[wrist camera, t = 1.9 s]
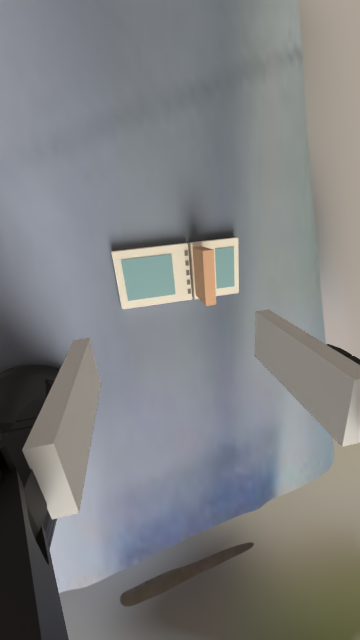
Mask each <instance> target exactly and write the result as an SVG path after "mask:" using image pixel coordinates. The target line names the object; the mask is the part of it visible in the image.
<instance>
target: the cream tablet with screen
mask: <svg viewBox="0 0 360 640" xmlns="http://www.w3.org/2000/svg"><path fill="white" fill-rule="evenodd" d="M112 258H113V263H114V268H115V274H116V279H117V285H118V290H119V295H120V301H121V306H122V309H129V308H136V307H143V306H149V305H156V304H163V303H170V302H177V301H184V300H190V299H192V290H191V277H190V265H189V252H188V243H179V244H170V245H161V246H152V247H143V248H135V249H126V250H117V251H112Z"/></svg>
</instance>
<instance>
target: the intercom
mask: <svg viewBox="0 0 360 640" xmlns="http://www.w3.org/2000/svg"><path fill="white" fill-rule="evenodd" d="M188 244H189V257H190V270H191V283H192V296H193V298H194V299H200V300H201V301H202V302H203V303H204V304H205V305H206V306H208V305H215V304H216V296H220V295H227V294H234V293H239V280H238V238H236V237H232V238H224V239H215V240H206V241H197V242H188Z"/></svg>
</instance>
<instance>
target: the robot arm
mask: <svg viewBox="0 0 360 640" xmlns="http://www.w3.org/2000/svg"><path fill="white" fill-rule="evenodd" d="M255 357H256V358H257V359H258V360H259V361H260V362H261V363H262V364H263V365H264V366H265V367H266V368H267V369H268V370H269V371H270V372H271V373H272V374H273V375H274V376H275V378H276V379H277V380H278V381H279V382H280V383H281V384H282V385H283V386H284V387H285V388H286V389H287V390H288V391H289V392H290V393H291V394H292V395H293V396H294V397H295V398H296V399H297V400H298V401H299V403H300V404H301V405H302V406H303V407H304V408H305V409H306V410H307V411H308V412H309V413H310V414H311V415H312V416H313V417H314V418H315V419H316V420H317V421H318V422H319V423H320V424H321V425H322V426H323V428H324V429H325V430H326V431H327V432H328V433H329V434H330V435H331V436H332V437H333V438H334V439H335V440H336V441H337V442H338V443H339V444H340V445H341V446H342V447H344V446H348V445H352V444H356V443H360V359H358V358H357V357H355V356H352V355H351V354H350V353H348V352H346V351H344V350H343V349H341V348H338V347H335V346H332V345H329V344H324V343H323V342H321V341H319V340H318V339H316V338H314V337H313V336H311V335H309V334H308V333H306V332H305V331H303V330H301V329H300V328H298V327H296V326H295V325H293V324H291V323H290V322H288V321H286V320H285V319H283V318H282V317H280V316H278V315H277V314H275V313H273V312H272V311H270V310H263V311H256V312H255ZM100 387H101V382H100V378H99V374H98V370H97V366H96V362H95V358H94V354H93V350H92V346H91V342H90V338H86V339H79V340H74V341H73V343H72V345H71V347H70V349H69V351H68V353H67V356H66V358H65V360H64V362H63V364H62V366H61V368H60V370H59V369H56V368H52V367H48V366H39V365H29V366H20V367H16V368H12V369H9V370H6V371H4V372H2V373H0V640H69V639H68V635H67V630H66V626H65V621H64V616H63V612H62V607H61V602H60V597H59V593H58V588H57V583H56V579H55V574H54V569H53V565H52V560H51V555H50V551H49V550H50V546H51V542H52V537H53V533H54V529H55V525H56V521H57V518H61V517H65V516H69V515H73V514H77V513H79V510H80V504H81V499H82V493H83V487H84V481H85V475H86V469H87V463H88V458H89V452H90V446H91V440H92V434H93V428H94V422H95V416H96V411H97V405H98V399H99V393H100Z"/></svg>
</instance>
